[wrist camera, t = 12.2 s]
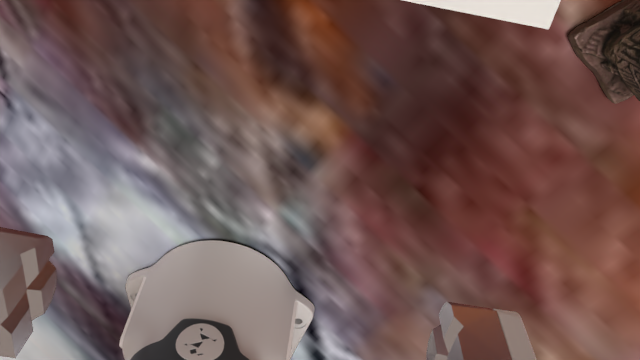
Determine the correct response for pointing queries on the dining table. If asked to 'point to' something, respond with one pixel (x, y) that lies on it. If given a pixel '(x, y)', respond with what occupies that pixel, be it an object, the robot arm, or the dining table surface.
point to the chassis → (503, 9)
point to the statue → (612, 49)
